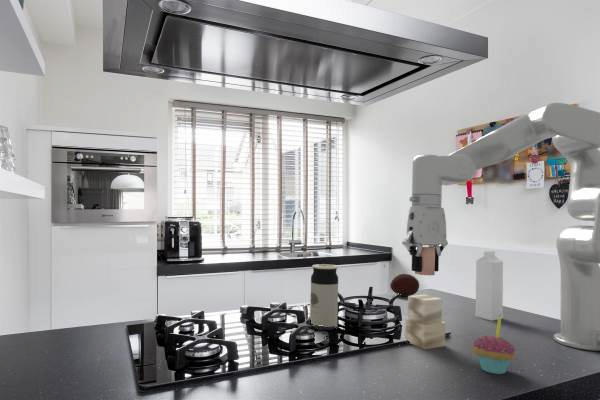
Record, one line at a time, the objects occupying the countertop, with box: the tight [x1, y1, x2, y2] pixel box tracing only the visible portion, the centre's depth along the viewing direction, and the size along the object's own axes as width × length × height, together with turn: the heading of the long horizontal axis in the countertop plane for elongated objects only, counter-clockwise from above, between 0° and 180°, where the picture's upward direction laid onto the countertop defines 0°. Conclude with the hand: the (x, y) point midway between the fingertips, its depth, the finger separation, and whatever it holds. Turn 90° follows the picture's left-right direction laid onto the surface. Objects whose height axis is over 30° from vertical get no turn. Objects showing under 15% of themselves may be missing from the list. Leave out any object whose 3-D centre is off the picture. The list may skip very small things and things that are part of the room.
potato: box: [390, 273, 420, 297], centre depth 167 cm, size 9×12×9 cm
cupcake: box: [471, 314, 516, 375], centre depth 88 cm, size 9×8×12 cm
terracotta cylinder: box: [414, 246, 436, 276], centre depth 106 cm, size 5×5×7 cm
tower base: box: [404, 317, 446, 350], centre depth 105 cm, size 7×7×6 cm
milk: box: [475, 250, 504, 322], centre depth 135 cm, size 6×6×22 cm
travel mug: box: [309, 263, 339, 328], centre depth 118 cm, size 8×8×18 cm
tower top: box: [407, 294, 443, 325], centre depth 105 cm, size 6×6×6 cm
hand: (425, 270), depth 106 cm, fingers closed on terracotta cylinder, 5 cm apart
